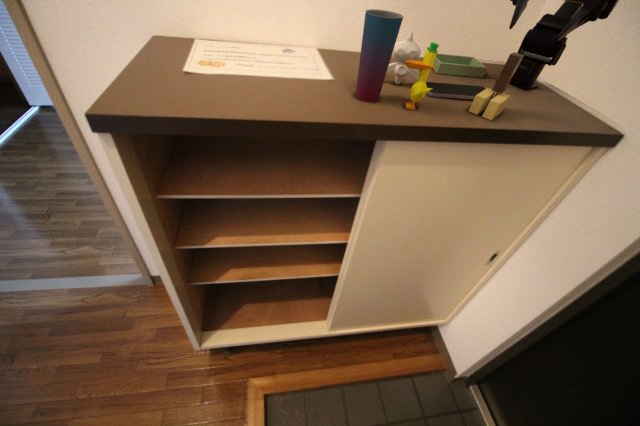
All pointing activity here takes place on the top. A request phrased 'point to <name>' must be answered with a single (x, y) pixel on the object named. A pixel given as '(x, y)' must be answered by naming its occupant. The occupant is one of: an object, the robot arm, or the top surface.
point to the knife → (507, 73)
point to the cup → (376, 51)
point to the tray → (458, 65)
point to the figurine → (404, 58)
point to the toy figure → (421, 74)
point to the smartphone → (454, 90)
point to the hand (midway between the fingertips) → (533, 33)
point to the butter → (489, 103)
